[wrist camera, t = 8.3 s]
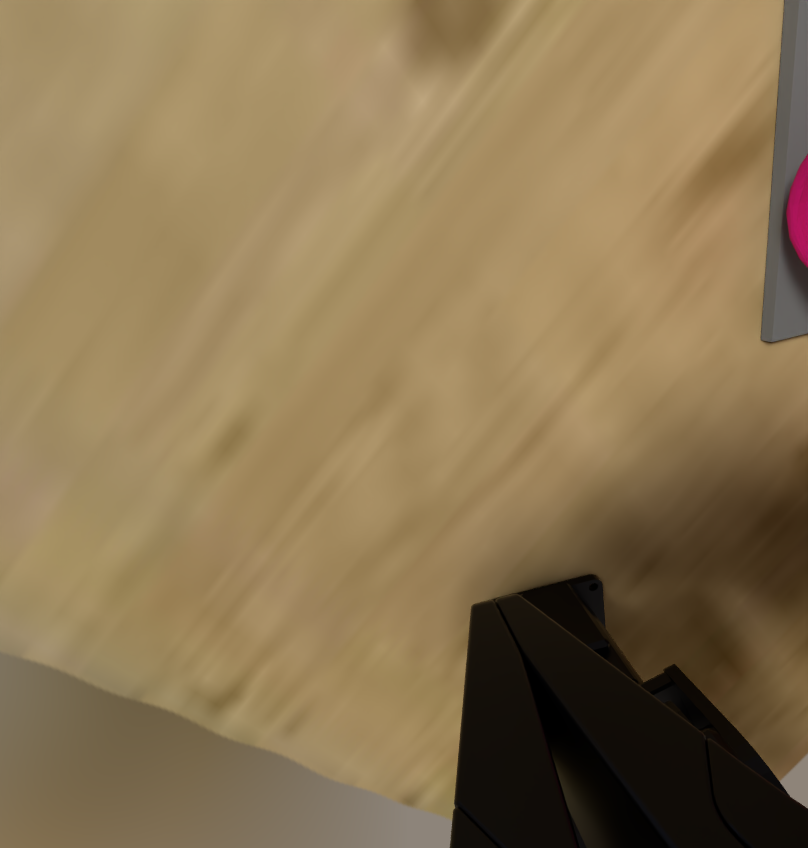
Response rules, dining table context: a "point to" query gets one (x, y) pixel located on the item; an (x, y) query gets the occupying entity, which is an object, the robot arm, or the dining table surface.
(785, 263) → the mat
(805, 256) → the pepper mill
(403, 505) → the dining table surface
